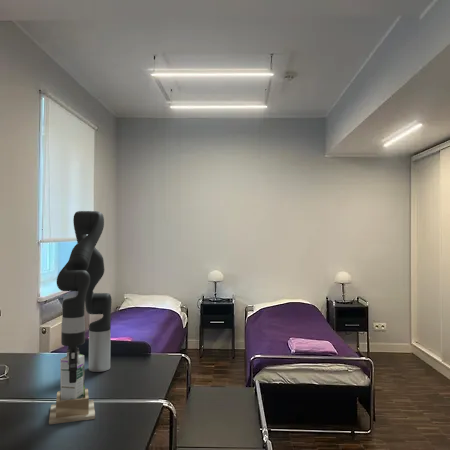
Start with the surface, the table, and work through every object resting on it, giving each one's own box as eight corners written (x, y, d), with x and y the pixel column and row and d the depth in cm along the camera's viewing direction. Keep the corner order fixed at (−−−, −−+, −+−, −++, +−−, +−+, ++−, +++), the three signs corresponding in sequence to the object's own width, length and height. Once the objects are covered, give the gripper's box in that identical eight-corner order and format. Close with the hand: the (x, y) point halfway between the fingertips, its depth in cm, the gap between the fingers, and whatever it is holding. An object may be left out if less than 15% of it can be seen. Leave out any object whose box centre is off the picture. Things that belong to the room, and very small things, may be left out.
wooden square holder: (51, 407, 153) (51, 390, 153) (93, 402, 158) (93, 385, 158) (48, 424, 140) (49, 405, 140) (95, 418, 144) (95, 400, 144)
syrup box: (76, 403, 146) (76, 359, 146) (59, 402, 147) (60, 358, 147) (85, 397, 151) (85, 354, 151) (69, 395, 152) (69, 353, 152)
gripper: (85, 333, 144) (85, 384, 143) (84, 324, 157) (84, 371, 157) (60, 335, 141) (60, 387, 141) (62, 326, 155) (61, 373, 155)
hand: (72, 378), depth 149 cm, fingers closed on syrup box, 7 cm apart
